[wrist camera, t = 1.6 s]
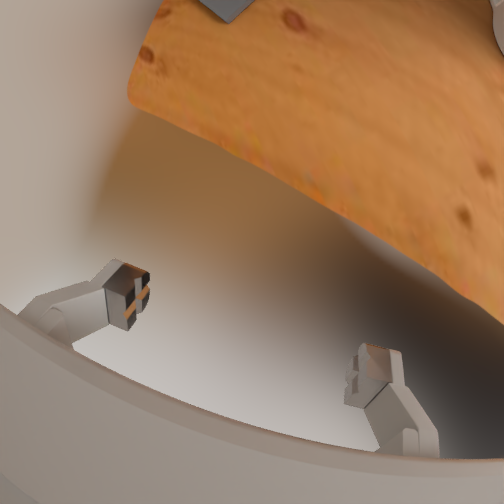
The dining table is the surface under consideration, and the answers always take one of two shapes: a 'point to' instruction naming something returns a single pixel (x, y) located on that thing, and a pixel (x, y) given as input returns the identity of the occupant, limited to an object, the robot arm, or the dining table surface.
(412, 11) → the dining table surface
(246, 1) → the base board
